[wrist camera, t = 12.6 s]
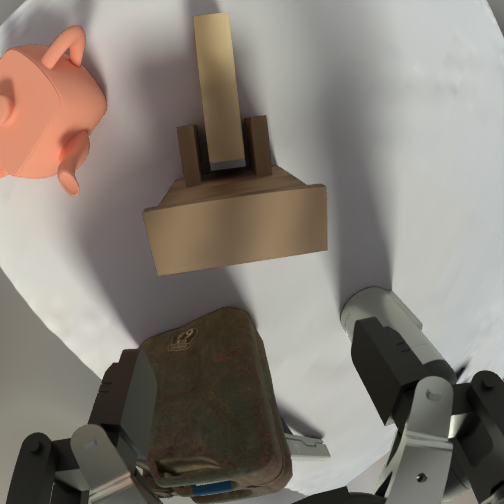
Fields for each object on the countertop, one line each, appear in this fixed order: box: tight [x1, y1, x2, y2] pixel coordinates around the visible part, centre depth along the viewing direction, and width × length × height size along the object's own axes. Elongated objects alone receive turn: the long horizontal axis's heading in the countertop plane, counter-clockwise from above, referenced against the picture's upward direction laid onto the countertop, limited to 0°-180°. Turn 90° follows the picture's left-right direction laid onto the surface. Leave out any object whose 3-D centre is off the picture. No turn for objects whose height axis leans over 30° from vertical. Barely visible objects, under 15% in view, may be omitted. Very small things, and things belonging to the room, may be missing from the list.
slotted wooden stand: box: [142, 115, 327, 276], centre depth 27 cm, size 13×10×15 cm
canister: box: [136, 307, 293, 504], centre depth 32 cm, size 19×8×25 cm, turn 114°
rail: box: [193, 12, 246, 171], centre depth 28 cm, size 4×17×5 cm, turn 6°
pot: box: [0, 25, 107, 196], centre depth 22 cm, size 18×17×12 cm
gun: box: [280, 417, 330, 461], centre depth 55 cm, size 2×25×10 cm, turn 39°
